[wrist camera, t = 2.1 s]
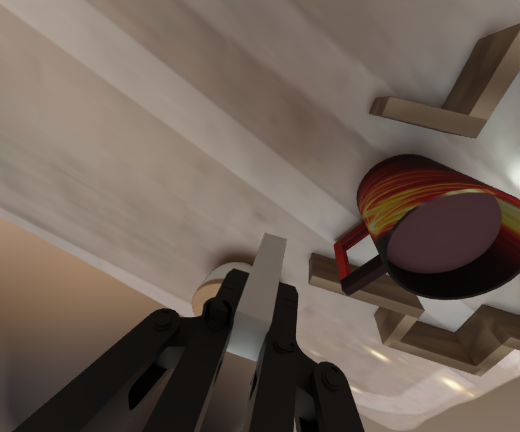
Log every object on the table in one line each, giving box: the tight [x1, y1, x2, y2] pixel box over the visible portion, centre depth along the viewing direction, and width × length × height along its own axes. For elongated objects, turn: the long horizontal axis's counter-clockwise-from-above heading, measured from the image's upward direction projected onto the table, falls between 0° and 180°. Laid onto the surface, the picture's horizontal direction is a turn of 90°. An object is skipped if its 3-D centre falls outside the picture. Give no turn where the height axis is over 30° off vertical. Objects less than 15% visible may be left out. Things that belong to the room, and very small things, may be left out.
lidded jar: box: [192, 262, 252, 317], centre depth 34 cm, size 11×11×9 cm
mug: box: [334, 154, 520, 300], centre depth 23 cm, size 10×14×12 cm
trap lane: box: [309, 24, 520, 376], centre depth 25 cm, size 34×31×5 cm
